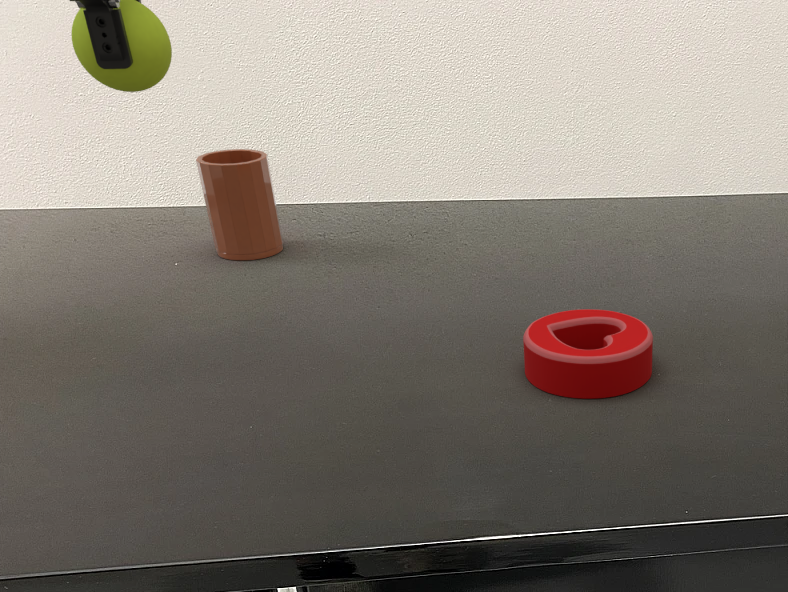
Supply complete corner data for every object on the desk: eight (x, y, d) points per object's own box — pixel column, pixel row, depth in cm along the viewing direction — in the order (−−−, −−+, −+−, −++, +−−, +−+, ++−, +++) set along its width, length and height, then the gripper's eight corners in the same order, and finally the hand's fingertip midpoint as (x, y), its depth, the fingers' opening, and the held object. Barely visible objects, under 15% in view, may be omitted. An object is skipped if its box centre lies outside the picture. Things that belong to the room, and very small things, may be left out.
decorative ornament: (527, 345, 77) (525, 308, 75) (647, 344, 77) (648, 306, 76) (522, 399, 69) (520, 359, 67) (656, 397, 69) (657, 357, 68)
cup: (213, 262, 92) (192, 166, 87) (220, 242, 97) (200, 150, 92) (281, 258, 93) (264, 163, 88) (285, 238, 98) (268, 147, 94)
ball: (76, 100, 68) (48, -1, 65) (97, 84, 73) (72, -10, 70) (173, 98, 69) (151, -1, 66) (186, 82, 75) (167, -10, 71)
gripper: (26, -216, 67) (94, 47, 75) (-49, -236, 55) (42, 78, 64) (143, -212, 68) (196, 45, 77) (95, -230, 56) (164, 76, 65)
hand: (126, 59), depth 70 cm, fingers closed on ball, 6 cm apart
